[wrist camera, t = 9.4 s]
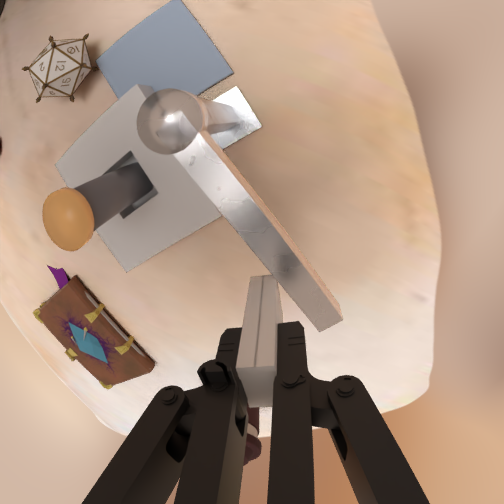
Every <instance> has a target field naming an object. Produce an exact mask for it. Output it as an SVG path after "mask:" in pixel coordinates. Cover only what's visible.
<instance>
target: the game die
mask: <svg viewBox="0 0 504 504" xmlns="http://www.w3.org/2000/svg"><path fill="white" fill-rule="evenodd" d="M88 36H89V34H86V35H85V36H84V37H83V39H67V40H54V41H53V37H51V36H50V38H49V41H50V43H49V44H48V45H47V46H46V48H45V49H44V50H43V51H42V52H41V53H40V54H39V56H38V57H37V58H36V59H35V60H34V62H33V63H32V64H31V65H30V67H24V68H22V70H24V71H26V70H29V72H30V75H31V77H32V80H33V82H34V85H35V87H36V90H37V92H38V94H39V97H38V98H37V99H36V103H37V102H40V100H41V97H70V101H72V102H74V99H75V98H74V97H73V96H72V95H73V93H74V92H75V91H76V89H77V88H78V87H79V85H80V84H81V83H82V81H83V80H84V79H85V77H86V76H87V75H88V73H89V72H90V71H91V70H93V71H96V70H98V68H97V67H92V66H91V62H90V59H89V55H88V51H87V48H86V44H85V39H87V38H88Z"/></svg>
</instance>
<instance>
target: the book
mask: <svg viewBox="0 0 504 504" xmlns="http://www.w3.org/2000/svg"><path fill="white" fill-rule="evenodd" d="M48 268H49V269H50V271H51V272H52V273H53V275H54V277H55V279H56V281H57V283H58V286H59V288H60V290H59V291H57V292H56V293H55V294H54V295H53V296H52V297H51V298H50V299H49V300H48V301H47V302H45V303H42V304H41V305H40V308H38V309H36V310H35V311H34V312H33V314H34V316H35V318H36V319H37V320H39V321H40V322H41V323H43V324H44V325H45V326H46V327H47V328H48V330H49V331H50V332H51V333H52V334H53V335H54V336H55V337H56V339H57V340H58V341H59V342H60V343H61V344H62V345H63V346H64V347H65V348H66V349H67V350H66V352H65V353H66V354H67V355H68V356H69V358H70V359H71V361H74V360H75V359H76V360H77V361H78V362H80V363H81V364H82V365H83V366H84V367H85V368H86V369H87V370H88V371H89V372H90V373H91V374H92V375H93V376H94V377H95V378H96V379H97V380H99V382H100V384H101V385H102V386H103V387H104V388H106V389H110V388H112V387H113V385H116V384H119V383H122V382H125V381H127V380H130V379H133V378H136V377H139V376H142V375H144V374H147V373H150V372H151V371H152V370H153V368H154V366H155V363H154V362H153V361H152V360H151V359H150V358H149V357H148V356H147V355H146V354H145V353H144V352H143V351H142V350H141V349H140V348H139V347H138V346H137V345H136V344H135V343H134V342H133V340H134V338H133V337H132V336H127V335H126V334H125V333H124V332H123V331H122V330H121V329H120V328H119V326H118V325H117V324H116V323H115V322H114V321H113V320H112V319H111V318H110V317H109V315H108V314H107V313H106V312H105V311H104V310H103V308H104V307H105V306H104V305H103V304H102V303H100V304H98V303H97V302H96V300H95V299H94V298H93V297H92V296H91V295H90V293H89V292H88V291H87V290H86V288H85V287H84V286H83V285H82V283H81V282H80V281H79V280H78V278H77V277H76V276H74V277H73V278H72V279H71V280H70V281H68V279H67V276H66V274H65V271H64V269H63V268H60V269H57V268H56V269H57V270H56V269H55V268H52V267H50V266H48Z"/></svg>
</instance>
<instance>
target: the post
mask: <svg viewBox="0 0 504 504" xmlns="http://www.w3.org/2000/svg"><path fill="white" fill-rule="evenodd" d="M200 99H201V100H202V102H203V103H204V105H205V107H206V109H207V113H208V126H207V129H206V131H207V132H208V133H209V135H210V136H211V137H212V138H213V139H214V141H215V142H216V143H217V144H218V145H219V147H220V148H221V149H224V148H226V147H227V146H229V145H231V144H232V143H234V142H236V141H237V140H239V139H241V138H243V137H244V136H246V135H248V134H250V133H251V132H253V131H255V130H257V129H258V128H260V127H262V125H261V123H260V122H259V120H258V119H257V117H256V115H255V114H254V112H253V111H252V109H251V107H250V106H249V104H248V103H247V101H246V100H245V98H244V96H243V95H242V93H241V92H240V90H239V89H238V87H237V86H236V87H234V88H233V89H231V90H229V91H227V92H226V93H224V94H223V95H221V96H219V97H218V98H216V99H214V100H213V101H212V100H207V99H203V98H200Z"/></svg>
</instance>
